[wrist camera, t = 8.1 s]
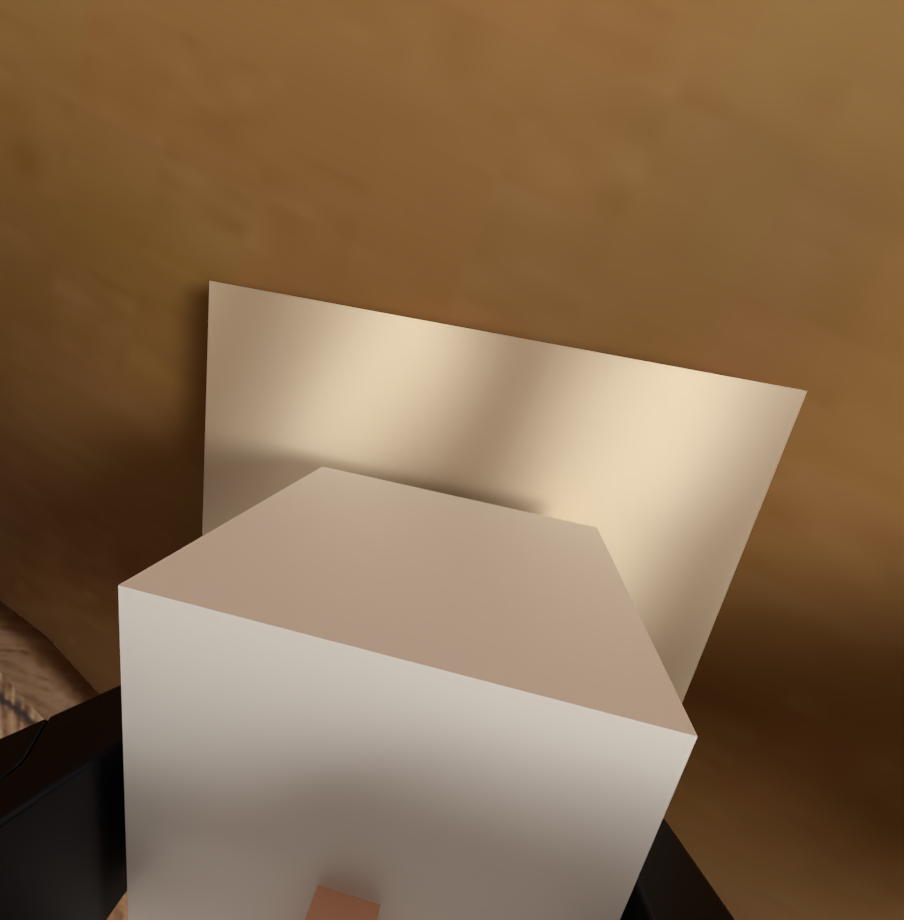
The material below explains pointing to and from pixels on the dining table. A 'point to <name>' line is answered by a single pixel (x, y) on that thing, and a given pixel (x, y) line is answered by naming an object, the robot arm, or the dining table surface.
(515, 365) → the post board
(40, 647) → the trivet
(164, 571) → the white block
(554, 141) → the dining table surface
